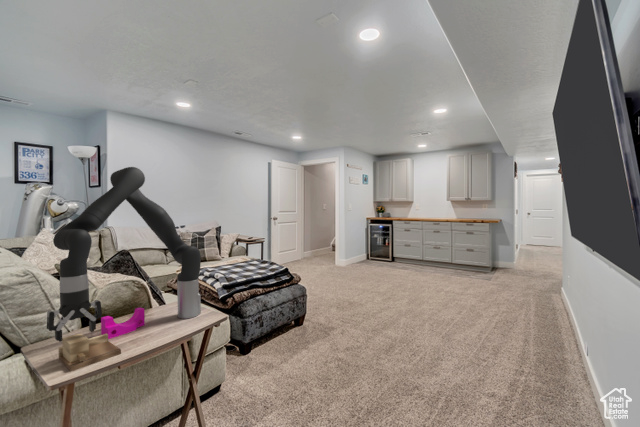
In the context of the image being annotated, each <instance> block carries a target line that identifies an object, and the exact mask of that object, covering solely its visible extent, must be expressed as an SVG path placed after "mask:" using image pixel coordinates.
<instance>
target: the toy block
mask: <svg viewBox="0 0 640 427" xmlns="http://www.w3.org/2000/svg"><path fill="white" fill-rule="evenodd" d="M133 312H134V313H133V314H132V316H131V317H130V318H129V319H128V320H126V321H124V322H120V323H119V322H115V320H114V317H113V316H110V315H106V316H102V317H101V318H100V330H101V331H100V333H101V335H103V334H106V333H107V334H108V340H110V339H113V338H117V337H120V336H123V335H126V334H129V333H132V332H134V331H137V328H139V327H140V328H141V327H143V326H145V323H146V322H145V314H146V313H145V308H143V307H136V308H134V311H133ZM119 335H120V336H119Z"/></svg>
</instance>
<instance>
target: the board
mask: <svg viewBox="0 0 640 427" xmlns="http://www.w3.org/2000/svg"><path fill="white" fill-rule="evenodd" d="M88 339H89V357H86V358H85V360H84V361H83V362H80V361H79V360H77V361H74V362H71V363H70V362H69V361H68V360H67V359H66V358H65V357H64V356H63V345H62V346H59V347H58V360H59V361H60V362H61V364H63V365H64V366H65V367H66V368H67V369H68V370H69V371H70V372H73V371H75V370H76V371H77V370H79V369H81V368H84V367H87V366H89V365H93V364H95V363H98V362H101V361H103V360H107V359H110V358H112V357H115V356H118V355H121V354H122V349H121V348H120V347H118V346H116V344H114V343H112V342H110V341H109V339H108V334H107V333H106V334H103V335H96V336H93V337H90V338H88Z"/></svg>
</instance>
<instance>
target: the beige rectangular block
mask: <svg viewBox="0 0 640 427" xmlns="http://www.w3.org/2000/svg"><path fill="white" fill-rule="evenodd" d="M61 343H62V346H63V356H64V357H65V358H66V359H67V360H68V361H69V362H70V363H71V362H74V361H77V360H79V361H80V362H83V361H84V360H85V358H86V357H89V338H88V337H87V336H86V335H84V334H83V333H81V332H80V333H77V334H74V335H73V334H72V335H69V336H66V337H62V341H61Z"/></svg>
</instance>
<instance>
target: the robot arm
mask: <svg viewBox="0 0 640 427" xmlns="http://www.w3.org/2000/svg"><path fill="white" fill-rule="evenodd" d="M109 178H110V179H109V180H110V184H111V185H112V187H111V188H110V189H108V191H106V192H105V193H104V194H102V195H101V196H100V197H98V198H96V199H95V200H94V201H93V202H91V203H90V204H89V205H88V206H87V207H86V208H85V209H84V210H83V211H82V212H81V213H80V214H79V216H78V217H76V218H74V219H73V220H71V221H70V222H68V223H67V224H66V225H64V226H63V227H61V228H59V230H57V232H56V233H55V235H54V236H53V240H52V241H53V243H52V244H53V245H54V246H55V248H56V249H58V250H61V251H68V256H67V257H66V258H63V259H61V260H60V263H59V284H58V285H59V286H58V287H59V305H60V306H59V309H55V310H48V311H47V313H46V330H48V331H50V332H53V331H54V339H55V340H56V341H57V342H59V343H62V338H63V330H62V328H64V326H65V325H67V323H68V321H74V320H77V319H82V318H84V316H85V317H86V318H88V319H89V321H88V326H89V327H88V331H89V333H94V332H95V330H96V329H97V325H96V324H97V323H96V322H97V320H98V319H99V318H100V319H101V318H102V317H103V311H102V303H101V301H100V300H97V299H95V300H94V301H91V302H90V288H89V286H90V281H89V276H88V259H89V256H90V251H91V248H92V242H93V241H92V240H93V238H92V236H91V235H90V232H94V231H96V230H98V229H100V227H101V226H103V224H104V222H106V220H107V219H108V218H109V217H110V216H111V215H112V214H113V213H114V212H115V211H116V210H117V208H118V207H120V206H121V204H122V203H123V202H124V201H127V203H129V205H130V206H131V207H132V208H133V209H134V210H135V211H136V212H137V213H138V215H139V216H140V217H141V218H142V220H143V221H144V222H145V224H146V225H147V226H148V227H149V229H150V230H151V231H152V232H153V233H154V234H155V235H156V236H157V238H158V239H159V240H160V241H161V242H162V243H163V245H164V246H165V247H166V248H167V250H168V251H169V253H170V254H171V256H172V258H173V260H175V262H176V263H178V264H180V265H181V269H180V270H181V271H180V272H179V273H178V274H177V278H176V279H177V280H176V281H177V318H178V319H183V320H184V319H192V318H196V317H197V316H199V315H201V313H202V310H201V309H202V306H201V303H202V301H201V300H202V299H201V296H202V295H201V293H199V292H200V290H199V289H200V288H199V286H200V285H199V281H200V280H199V277H200V276H199V275H200V273H201V263H202V262H201V256H202V255H201V252H200V250H199V248H198V247H196V246H193V245H188V244H187V243H185V242H184V240H183V239H182V238H181V237H180V235H179V234H178V231H177V228H176V225H175V222H174V221H173V219H172V217H171V216H170V214H169V213H168V212H167V210H166V209H164V208H163V207H162V206H161V205H159V204H157V203H156V202H154V201H153V200H152V199H150V198H148V197H146V195H145V194H144V193H143V192H142V191H141V189H140V188H142V187H143V185H144V184H145V181H146V176H145V174H144V172H143V170H141V169H140V168H138V167H135V166H128V167H124V168H122V169H118V170H116V171H114V172H112V173H111V175H110V177H109ZM91 307H92V308H94V314H92V313H90V312H89V310H90V308H91ZM59 314H60V315H61V317H60V318H59V320H58V322H57V323H56V324H55V318H56V317H57V316H58V315H59Z"/></svg>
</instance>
